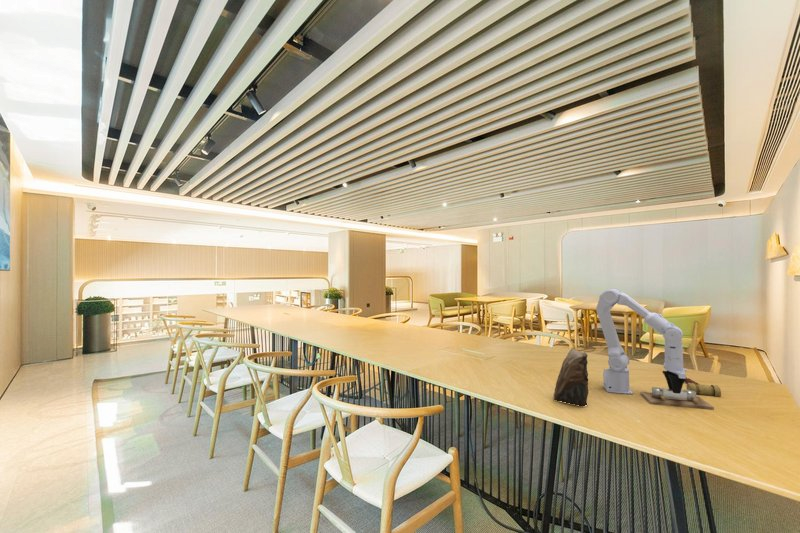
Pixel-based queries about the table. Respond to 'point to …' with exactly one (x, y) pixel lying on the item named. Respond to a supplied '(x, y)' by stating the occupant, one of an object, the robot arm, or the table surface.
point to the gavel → (703, 388)
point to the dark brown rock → (573, 379)
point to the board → (677, 402)
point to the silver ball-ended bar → (673, 394)
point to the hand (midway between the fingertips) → (674, 391)
